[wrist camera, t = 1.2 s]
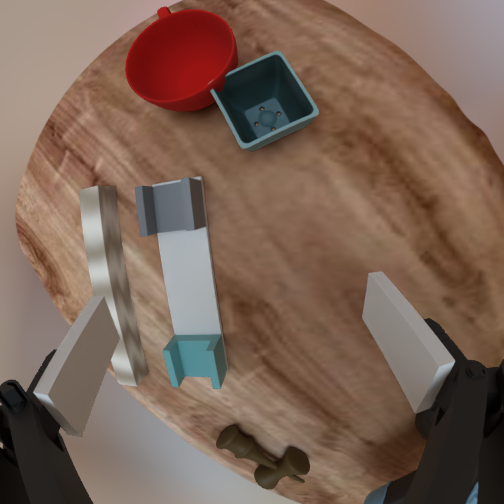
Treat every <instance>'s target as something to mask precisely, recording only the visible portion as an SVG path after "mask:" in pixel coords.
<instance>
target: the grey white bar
mask: <svg viewBox="0 0 504 504" xmlns="http://www.w3.org/2000/svg"><path fill="white" fill-rule="evenodd" d="M79 195H80V207H81V217H82V226H83V234H84V241H85V248H86V255H87V261H88V267H89V273H90V278H91V283H92V288H93V293H94V296H105V299H106V302H107V305H108V308H109V310H110V313H111V316H112V319H113V321H114V324H115V326H116V329H117V331H118V334H119V336H120V340H119V342H118V344H117V347H116V349H115V351H114V354H113V356H112V358H111V362H112V365H113V368H114V371H115V374H116V377H117V380H118V383H119V384H123V385H130V386H138V385H139V383H140V382H141V381H142V380H143V378H144V377H145V376H146V374H147V373H148V372H149V371H148V367H147V364H146V360H145V356H144V352H143V349H142V345H141V341H140V337H139V332H138V328H137V324H136V319H135V315H134V310H133V305H132V301H131V295H130V290H129V285H128V279H127V274H126V268H125V261H124V255H123V248H122V241H121V233H120V225H119V216H118V207H117V196H116V187H115V186H95V187H90V188H86V189H82V190H79Z"/></svg>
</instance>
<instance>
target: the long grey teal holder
mask: <svg viewBox="0 0 504 504" xmlns="http://www.w3.org/2000/svg"><path fill="white" fill-rule="evenodd" d="M135 194H136V204H137V213H138V221H139V229H140V236H141V237H143V236H149V235H153V234H156V233H157V234H158V241H159V248H160V255H161V262H162V268H163V274H164V280H165V286H166V291H167V297H168V302H169V308H170V313H171V318H172V323H173V327H174V332H175V336H174V337H173V338H172V339H171V340H170V342H169V343H168V344H167V345H166V347H165V348H164V349H163V354H164V358H165V362H166V366H167V370H168V373H169V377H170V381H171V384H172V387H179V386H180V384H181V383H182V381H183V379H184V377H185V376H192V377H211V380H212V385H213V389H221V386H222V383H223V380H224V378H225V375H226V373H228V370H229V367H228V361H227V355H226V349H225V343H224V337H223V330H222V324H221V317H220V311H219V304H218V297H217V290H216V283H215V276H214V269H213V261H212V253H211V245H210V237H209V229H208V221H207V212H206V203H205V194H204V185H203V177H194V178H189V177H188V178H182V179H181V180H176V181H170V182H165V183H159V184H154V185H152V187H149V186H139V187H135Z"/></svg>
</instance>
